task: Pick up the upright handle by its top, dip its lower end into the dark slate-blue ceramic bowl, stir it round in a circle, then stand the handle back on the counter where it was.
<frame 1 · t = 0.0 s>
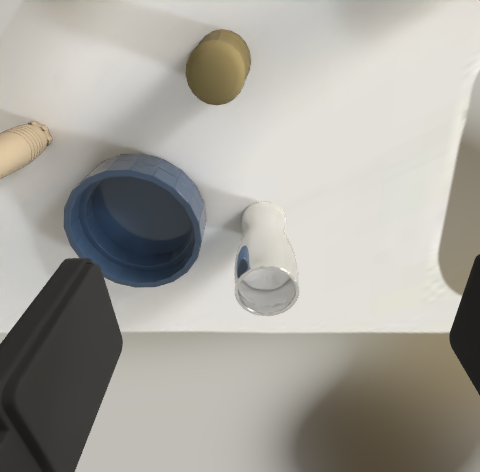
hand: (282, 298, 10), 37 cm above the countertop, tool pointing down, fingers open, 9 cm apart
olive piece: (223, 61, 40), on the countertop
bowl: (145, 211, 50), on the countertop
handle: (40, 133, 45), on the countertop
beer glass: (263, 220, 50), on the countertop
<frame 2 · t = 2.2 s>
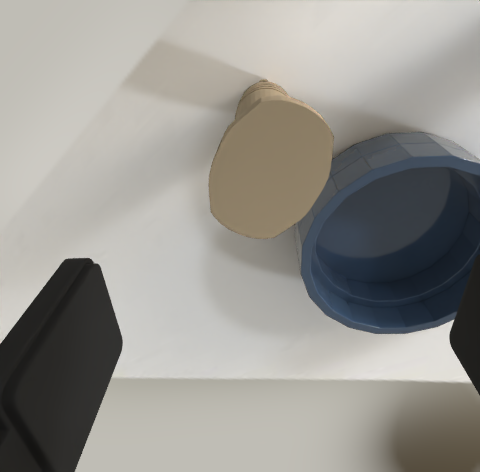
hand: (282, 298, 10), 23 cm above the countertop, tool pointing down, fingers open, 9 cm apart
bowl: (385, 220, 34), on the countertop
handle: (263, 100, 29), on the countertop
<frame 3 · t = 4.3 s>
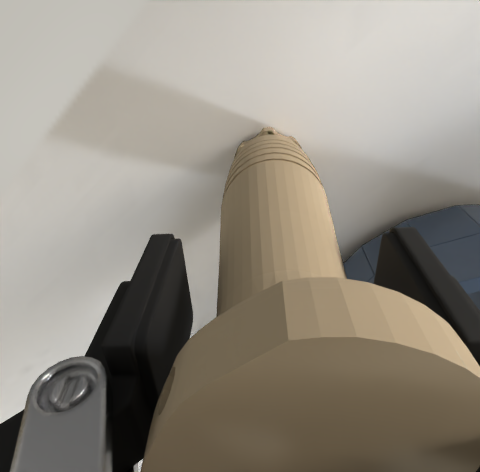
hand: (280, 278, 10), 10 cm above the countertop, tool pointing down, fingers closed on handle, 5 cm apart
bowl: (441, 315, 24), on the countertop
handle: (268, 156, 19), on the countertop, touching gripper
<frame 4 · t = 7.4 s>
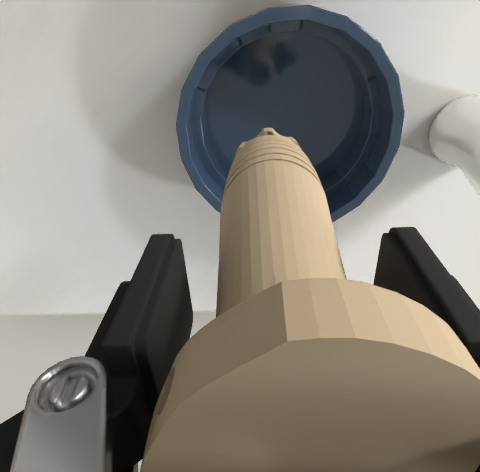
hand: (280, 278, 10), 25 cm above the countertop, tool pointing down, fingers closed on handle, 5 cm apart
bowl: (282, 117, 33), on the countertop
handle: (267, 156, 19), point 15 cm above the countertop, touching gripper
beer glass: (462, 129, 33), on the countertop
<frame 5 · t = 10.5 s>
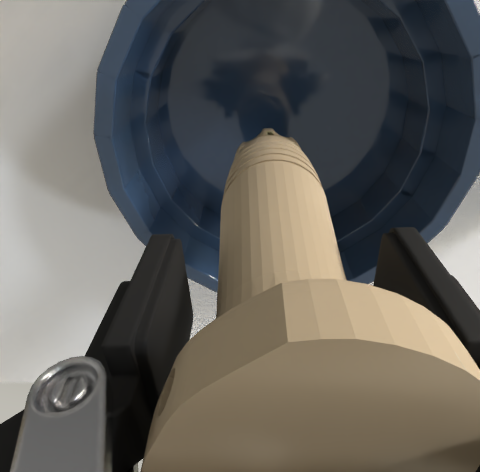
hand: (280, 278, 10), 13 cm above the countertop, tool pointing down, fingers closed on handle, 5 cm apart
bowl: (279, 121, 21), on the countertop
handle: (267, 156, 19), point 3 cm above the countertop, touching gripper
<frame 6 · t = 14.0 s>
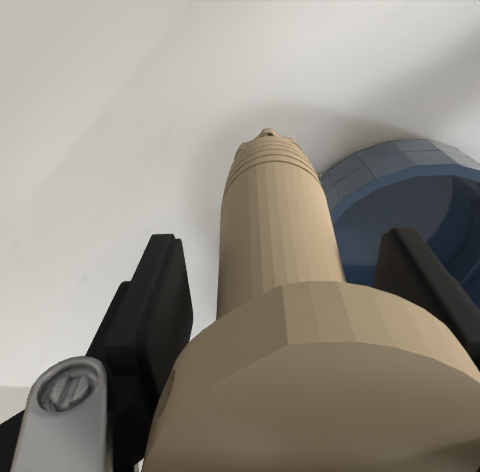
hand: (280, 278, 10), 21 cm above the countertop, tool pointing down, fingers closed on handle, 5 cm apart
bowl: (388, 228, 33), on the countertop
handle: (267, 157, 19), point 11 cm above the countertop, touching gripper
when the fingers open (10 cm above the countertop, at t = 16.9 s): handle stays where it is, on the countertop.
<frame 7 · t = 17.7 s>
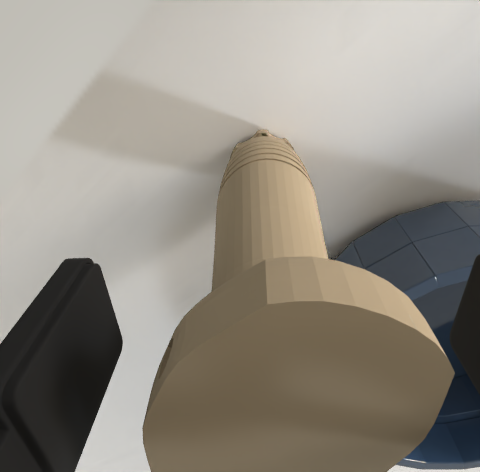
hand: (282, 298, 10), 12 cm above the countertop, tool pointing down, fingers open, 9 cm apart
bowl: (430, 309, 25), on the countertop
handle: (262, 157, 20), on the countertop
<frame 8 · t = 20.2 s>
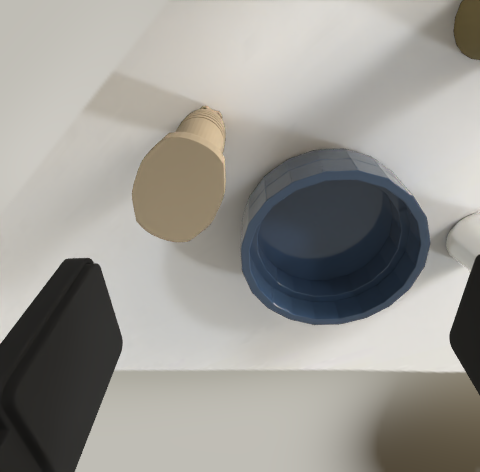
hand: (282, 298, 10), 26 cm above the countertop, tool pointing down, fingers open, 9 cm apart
bowl: (322, 225, 38), on the countertop
handle: (207, 123, 33), on the countertop
beer glass: (475, 236, 39), on the countertop
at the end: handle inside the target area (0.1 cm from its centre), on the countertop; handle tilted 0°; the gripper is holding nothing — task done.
